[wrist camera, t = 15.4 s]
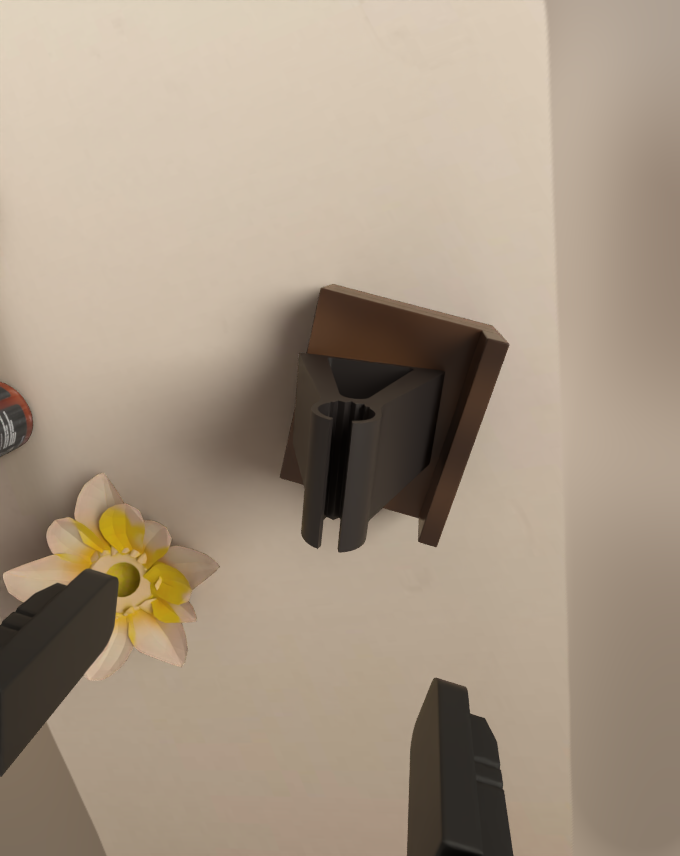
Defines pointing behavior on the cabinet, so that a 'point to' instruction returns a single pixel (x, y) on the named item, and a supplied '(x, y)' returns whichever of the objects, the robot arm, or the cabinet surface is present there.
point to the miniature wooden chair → (424, 348)
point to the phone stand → (359, 438)
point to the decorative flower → (122, 574)
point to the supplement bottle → (13, 419)
